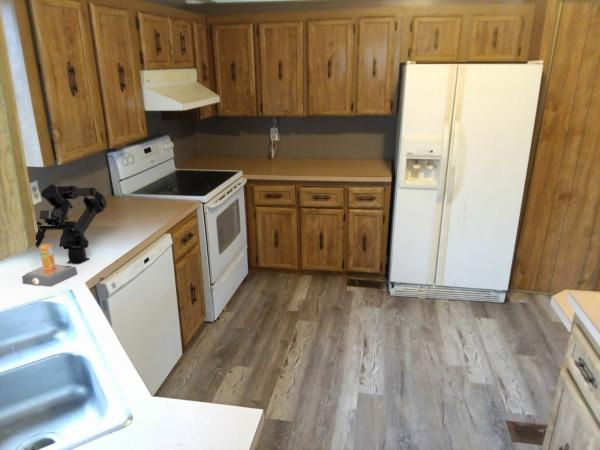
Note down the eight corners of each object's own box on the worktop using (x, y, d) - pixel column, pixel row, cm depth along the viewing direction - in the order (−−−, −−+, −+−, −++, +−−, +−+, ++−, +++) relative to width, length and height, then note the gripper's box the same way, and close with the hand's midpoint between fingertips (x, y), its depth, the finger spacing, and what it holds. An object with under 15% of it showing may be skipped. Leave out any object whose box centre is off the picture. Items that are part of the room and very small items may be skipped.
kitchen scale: (50, 271, 181) (49, 264, 180) (77, 274, 177) (76, 267, 176) (21, 284, 168) (20, 276, 167) (49, 287, 164) (48, 279, 163)
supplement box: (42, 271, 170) (38, 246, 168) (48, 268, 174) (43, 243, 171) (51, 271, 170) (46, 246, 168) (56, 267, 173) (52, 243, 171)
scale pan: (49, 265, 179) (49, 263, 178) (72, 267, 176) (71, 265, 175) (26, 275, 168) (25, 273, 168) (49, 277, 165) (49, 275, 165)
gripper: (25, 201, 173) (12, 237, 165) (72, 200, 172) (61, 236, 164) (41, 216, 182) (29, 250, 175) (86, 215, 182) (76, 250, 174)
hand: (48, 246), depth 172 cm, fingers open, 9 cm apart
